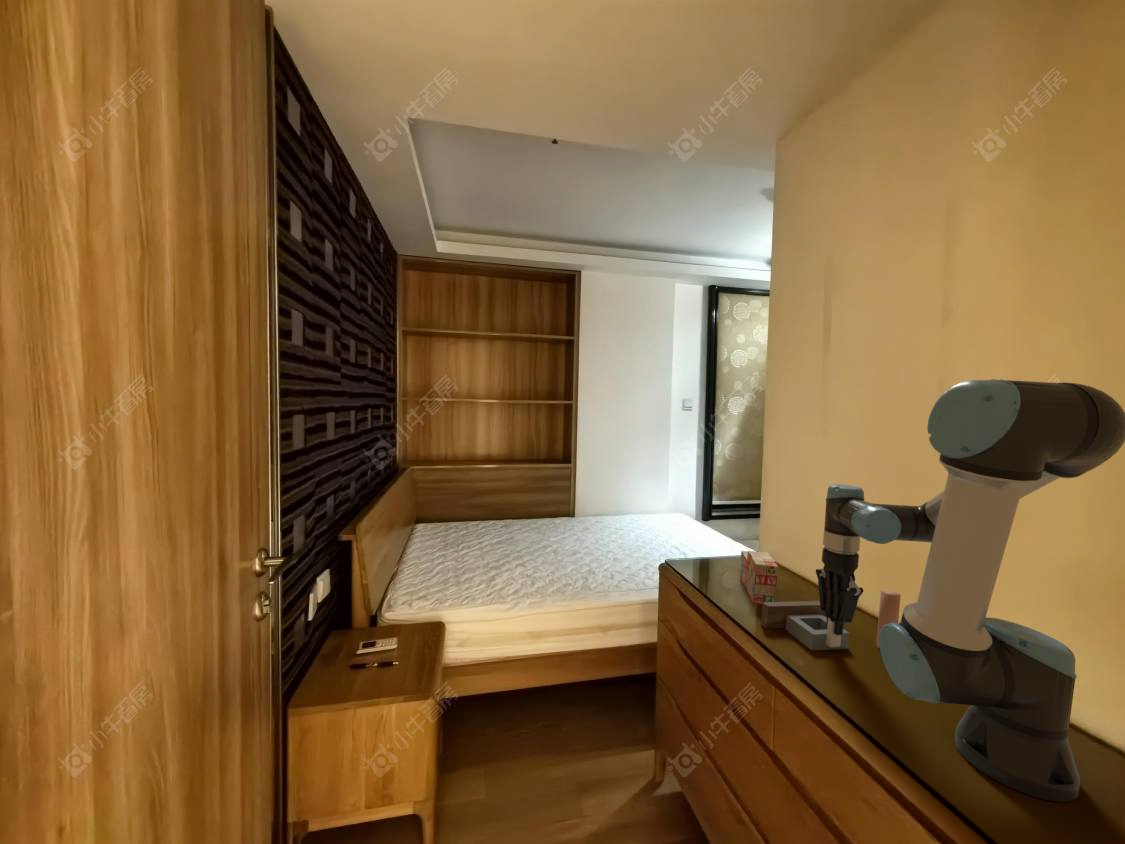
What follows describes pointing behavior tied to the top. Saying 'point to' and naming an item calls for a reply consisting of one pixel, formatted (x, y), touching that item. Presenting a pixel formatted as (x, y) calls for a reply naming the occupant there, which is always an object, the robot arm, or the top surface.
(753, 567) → the stack of blocks
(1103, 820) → the top surface
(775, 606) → the wall
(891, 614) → the dowel
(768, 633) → the top surface
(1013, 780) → the robot arm
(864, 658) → the top surface
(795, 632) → the grey square frame
